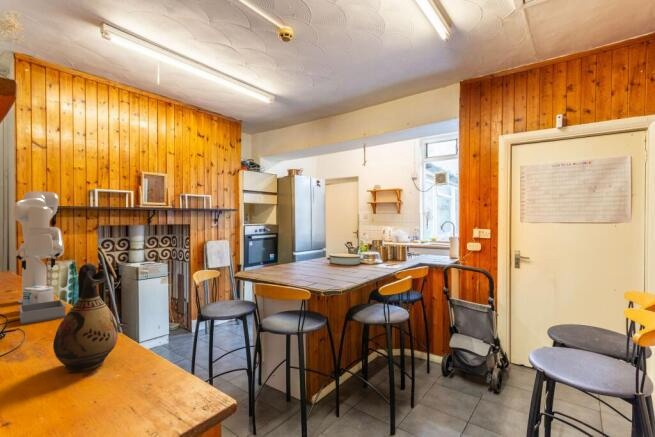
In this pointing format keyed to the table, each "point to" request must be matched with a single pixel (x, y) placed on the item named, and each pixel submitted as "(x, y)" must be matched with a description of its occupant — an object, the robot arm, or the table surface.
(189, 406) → the table surface
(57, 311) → the tray
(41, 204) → the robot arm
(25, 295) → the light bulb box
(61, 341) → the ceramic jug
